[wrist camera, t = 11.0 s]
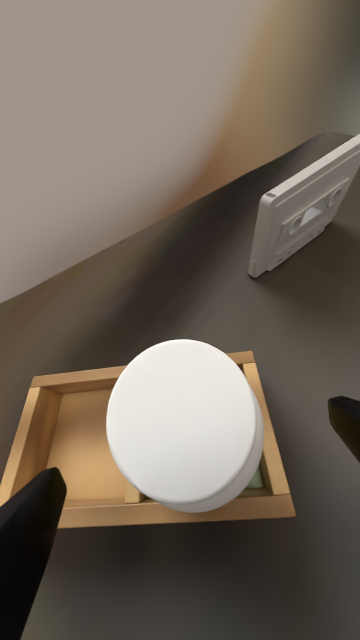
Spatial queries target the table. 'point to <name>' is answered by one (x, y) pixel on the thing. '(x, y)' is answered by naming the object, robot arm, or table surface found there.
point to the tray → (99, 466)
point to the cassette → (302, 207)
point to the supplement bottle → (185, 426)
